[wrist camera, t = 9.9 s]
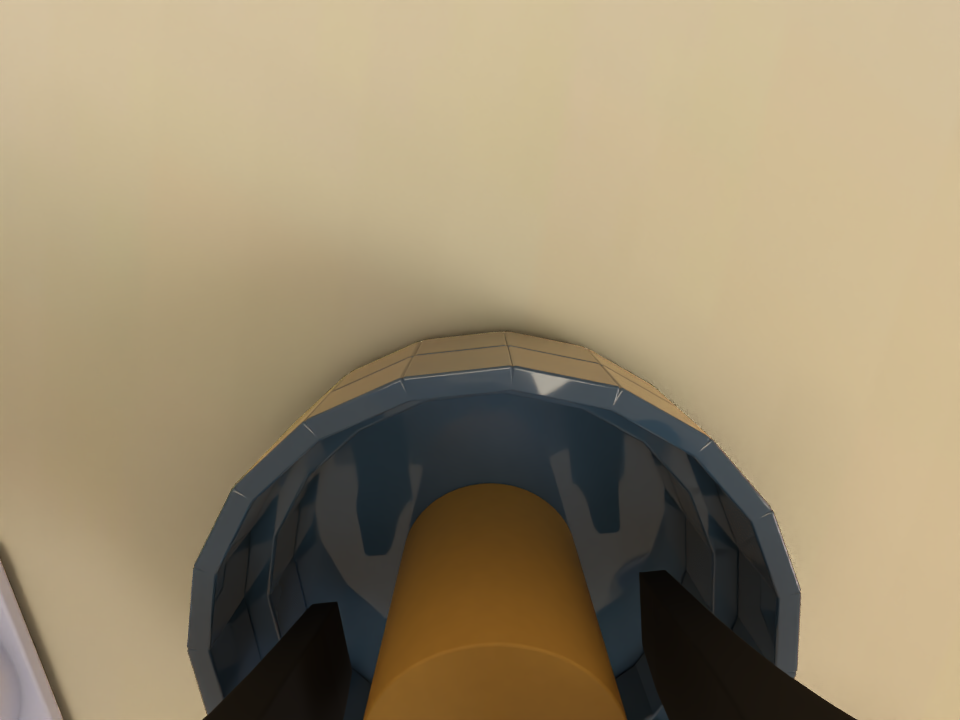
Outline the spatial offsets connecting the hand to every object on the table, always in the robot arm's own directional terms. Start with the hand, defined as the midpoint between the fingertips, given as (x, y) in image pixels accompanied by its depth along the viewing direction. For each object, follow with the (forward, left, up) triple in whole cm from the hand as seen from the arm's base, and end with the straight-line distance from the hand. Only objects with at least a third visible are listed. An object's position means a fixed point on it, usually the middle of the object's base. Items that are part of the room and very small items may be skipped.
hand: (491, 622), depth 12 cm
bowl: (0, 0, -3) cm, 3 cm away
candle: (0, 0, -2) cm, 2 cm away
